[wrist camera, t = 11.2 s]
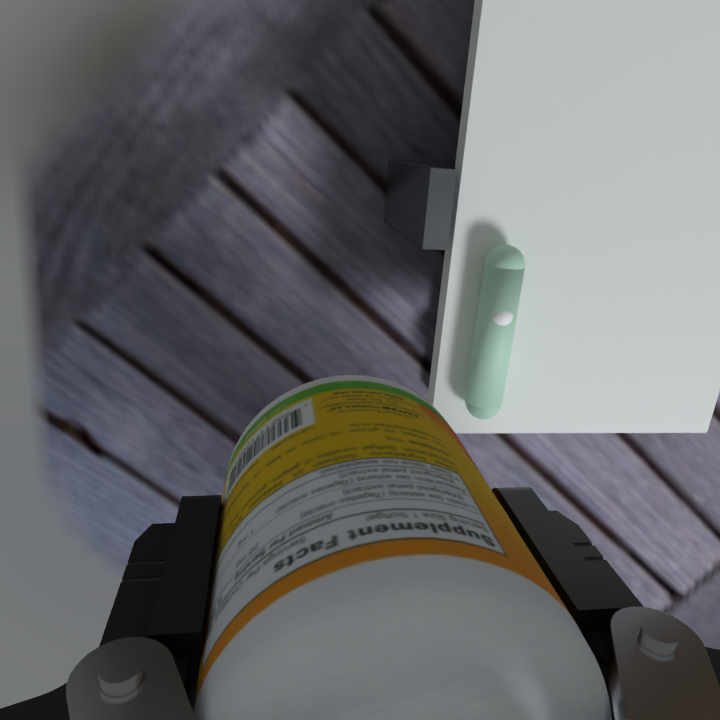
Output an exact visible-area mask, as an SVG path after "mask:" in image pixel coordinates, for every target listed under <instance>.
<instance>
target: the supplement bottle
mask: <svg viewBox="0 0 720 720" xmlns="http://www.w3.org/2000/svg"><path fill="white" fill-rule="evenodd" d="M194 715H195V718H196V720H612V716H611V706H610V700H609V696H608V692H607V688H606V685H605V681H604V678H603V675H602V672H601V670H600V667H599V665H598V663H597V660H596V658H595V656H594V654H593V652H592V651H591V649H590V647H589V645H588V644H587V642H586V640H585V638H584V637H583V635H582V633H581V631H580V630H579V628H578V626H577V624H576V622H575V621H574V619H573V617H572V616H571V614H570V613H569V611H568V610H567V608H566V607H565V605H564V603H563V602H562V600H561V599H560V597H559V596H558V594H557V593H556V591H555V589H554V588H553V586H552V585H551V583H550V582H549V580H548V579H547V577H546V575H545V574H544V572H543V571H542V569H541V568H540V566H539V565H538V563H537V561H536V560H535V558H534V557H533V555H532V554H531V552H530V550H529V549H528V547H527V546H526V544H525V543H524V541H523V539H522V538H521V536H520V535H519V533H518V532H517V530H516V528H515V527H514V525H513V523H512V522H511V520H510V518H509V517H508V515H507V513H506V512H505V510H504V509H503V507H502V506H501V504H500V503H499V501H498V500H497V498H496V497H495V495H494V494H493V492H492V490H491V489H490V487H489V486H488V484H487V483H486V481H485V479H484V478H483V476H482V475H481V473H480V471H479V470H478V468H477V467H476V465H475V463H474V462H473V460H472V459H471V457H470V456H469V454H468V452H467V451H466V449H465V448H464V446H463V445H462V443H461V442H460V440H459V438H458V437H457V435H456V434H455V432H454V431H453V429H452V428H451V427H450V425H449V424H448V423H447V421H446V420H445V419H444V417H443V416H442V415H441V414H440V412H439V411H438V410H437V409H436V408H435V407H434V406H433V405H432V404H431V403H429V402H428V401H427V400H425V399H424V398H423V397H421V396H420V395H418V394H417V393H415V392H414V391H412V390H410V389H408V388H406V387H404V386H402V385H399V384H397V383H394V382H391V381H388V380H385V379H380V378H376V377H371V376H362V375H339V376H332V377H326V378H321V379H318V380H314V381H311V382H308V383H305V384H303V385H301V386H298V387H296V388H294V389H292V390H290V391H288V392H286V393H285V394H283V395H281V396H279V397H278V398H276V399H275V400H274V401H272V402H271V403H270V404H268V405H267V406H266V407H265V408H264V409H262V410H261V411H260V412H259V413H258V415H257V416H256V417H255V418H254V419H253V420H252V421H251V422H250V424H249V425H248V426H247V427H246V429H245V430H244V432H243V433H242V435H241V437H240V439H239V441H238V442H237V444H236V446H235V448H234V451H233V453H232V456H231V459H230V462H229V466H228V470H227V475H226V479H225V485H224V491H223V499H222V509H221V517H220V524H219V532H218V539H217V547H216V554H215V562H214V569H213V577H212V585H211V592H210V600H209V607H208V614H207V622H206V629H205V637H204V644H203V652H202V658H201V661H200V669H199V675H198V683H197V691H196V699H195V707H194Z"/></svg>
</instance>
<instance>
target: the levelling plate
mask: <svg viewBox="0 0 720 720" xmlns="http://www.w3.org/2000/svg"><path fill="white" fill-rule="evenodd" d="M455 169H456V170H457V173H456V181H455V190H454V199H453V207H452V216H451V225H450V233H449V242H448V250H445V255H444V263H443V272H442V280H441V289H440V297H439V305H438V314H437V322H436V331H435V339H434V347H433V356H432V364H431V373H430V381H429V389H428V398H427V401H428V402H429V403H431V404H432V405H433V406H434V407H435V408H436V409H437V410H438V411H439V412H440V414H441V415H442V416H443V417H444V419H445V420H446V421H447V423H448V424H449V425H450V427H451V428H452V429H453V431H454V432H455V433H707V431H708V427H709V424H710V421H711V417H712V414H713V411H714V408H715V404H716V401H717V398H718V394H719V391H720V0H475V2H474V11H473V19H472V28H471V36H470V45H469V53H468V61H467V70H466V78H465V87H464V95H463V103H462V112H461V120H460V129H459V137H458V145H457V154H456V162H455Z"/></svg>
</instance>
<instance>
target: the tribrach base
mask: <svg viewBox="0 0 720 720" xmlns="http://www.w3.org/2000/svg"><path fill="white" fill-rule="evenodd" d="M456 173H457V170H456V169H450V168H444V167H438V166H432V165H426V164H420V163H414V162H408V161H393V160H389V167H388V180H387V193H386V205H385V218H384V221H385V222H386V223H387V224H389V225H390V226H392V227H393V228H394V229H396V230H397V231H398V232H400V233H401V234H403V235H404V236H405V237H407V238H408V239H409V240H411V241H412V242H414V243H415V244H416V245H418V246H419V247H420V248H422V249H433V250H448V242H449V233H450V225H451V216H452V207H453V199H454V190H455V181H456Z"/></svg>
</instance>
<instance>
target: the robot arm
mask: <svg viewBox="0 0 720 720" xmlns="http://www.w3.org/2000/svg"><path fill="white" fill-rule="evenodd" d="M492 492H493V494H494V495H495V497H496V498H497V500H498V501H499V503H500V504H501V506H502V507H503V509H504V510H505V512H506V513H507V515H508V517H509V518H510V520H511V522H512V523H513V525H514V527H515V528H516V530H517V532H518V533H519V535H520V536H521V538H522V539H523V541H524V543H525V544H526V546H527V547H528V549H529V550H530V552H531V554H532V555H533V557H534V558H535V560H536V561H537V563H538V565H539V566H540V568H541V569H542V571H543V572H544V574H545V575H546V577H547V579H548V580H549V582H550V583H551V585H552V586H553V588H554V589H555V591H556V593H557V594H558V596H559V597H560V599H561V600H562V602H563V603H564V605H565V607H566V608H567V610H568V611H569V613H570V614H571V616H572V617H573V619H574V621H575V622H576V624H577V626H578V628H579V630H580V631H581V633H582V635H583V637H584V638H585V640H586V642H587V644H588V645H589V647H590V649H591V651H592V652H593V654H594V656H595V658H596V660H597V663H598V665H599V667H600V670H601V672H602V675H603V678H604V681H605V685H606V688H607V692H608V696H609V700H610V706H611V716H612V720H720V650H717V649H712V648H708V647H705V646H704V643H703V642H702V640H701V639H700V638H699V636H698V635H697V634H696V633H695V632H694V631H693V630H692V629H691V628H690V627H688V626H687V625H686V624H684V623H683V622H682V621H680V620H678V619H677V618H675V617H673V616H671V615H669V614H667V613H664V612H661V611H659V610H655V609H652V608H646V607H643V605H642V604H641V603H640V602H639V601H638V599H637V598H636V597H635V596H634V594H633V593H632V592H631V591H630V589H629V588H628V587H627V586H626V584H625V583H624V582H623V581H622V579H621V578H620V577H619V576H618V574H617V573H616V572H615V571H614V569H613V568H612V567H611V566H610V564H609V563H608V562H607V561H606V560H603V556H602V554H601V553H600V552H599V551H598V549H597V548H596V547H595V546H592V542H591V541H590V540H589V538H588V537H587V536H586V535H585V533H584V532H583V531H582V530H581V528H580V527H579V526H578V525H577V524H576V523H574V522H573V521H571V520H570V519H568V518H567V517H565V516H564V515H562V514H561V513H559V512H558V511H548V510H547V508H546V507H545V506H544V504H543V503H542V502H541V500H540V499H539V498H538V496H537V495H536V494H535V492H534V491H533V490H532V489H531V488H529V487H515V488H494V489H492ZM221 509H222V498H221V495H211V496H183V497H182V498H181V502H180V506H179V510H178V514H177V518H176V522H175V523H163V524H152V525H151V526H150V527H149V528H148V529H147V530H146V531H145V532H144V533H143V534H142V535H141V536H140V537H139V538H138V539H137V540H136V541H135V542H134V545H133V548H132V551H131V554H130V557H129V560H128V565H127V566H126V569H125V572H124V575H123V578H122V582H121V584H120V587H119V590H118V593H117V596H116V599H115V602H114V605H113V608H112V610H111V614H110V616H109V619H108V622H107V625H106V628H105V631H104V634H103V637H102V640H101V643H100V646H99V647H98V648H96V649H95V650H93V651H92V652H90V653H89V654H87V655H86V656H85V657H84V658H83V659H82V660H81V661H80V662H79V663H78V664H77V665H76V666H75V668H74V669H73V671H72V672H71V674H70V676H69V679H68V681H67V683H66V684H64V685H62V686H61V687H59V688H57V689H55V690H53V691H51V692H49V693H46V694H43V695H41V696H38V697H35V698H32V699H29V700H26V701H23V702H20V703H17V704H14V705H11V706H7V707H5V708H1V709H0V720H196V718H195V715H194V707H195V699H196V691H197V683H198V675H199V669H200V661H201V658H202V652H203V644H204V637H205V629H206V622H207V614H208V607H209V600H210V592H211V585H212V577H213V569H214V562H215V554H216V547H217V539H218V532H219V524H220V517H221Z"/></svg>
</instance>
